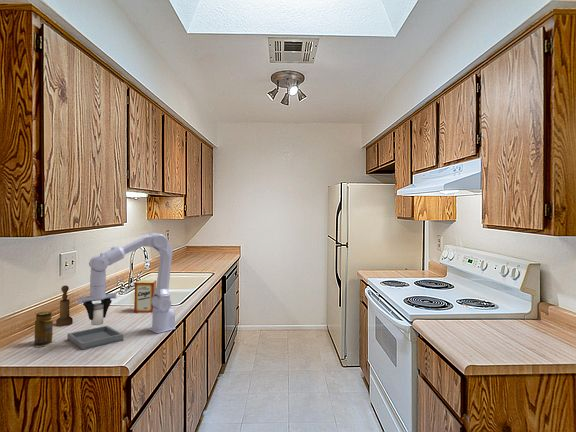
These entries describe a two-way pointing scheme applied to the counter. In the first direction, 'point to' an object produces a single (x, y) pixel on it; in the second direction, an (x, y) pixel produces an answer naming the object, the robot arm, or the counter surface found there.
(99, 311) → the shaker
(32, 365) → the counter surface
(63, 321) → the brown pepper mill
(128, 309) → the counter surface
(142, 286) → the spice box
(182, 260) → the counter surface
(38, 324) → the condiment
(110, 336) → the tray
